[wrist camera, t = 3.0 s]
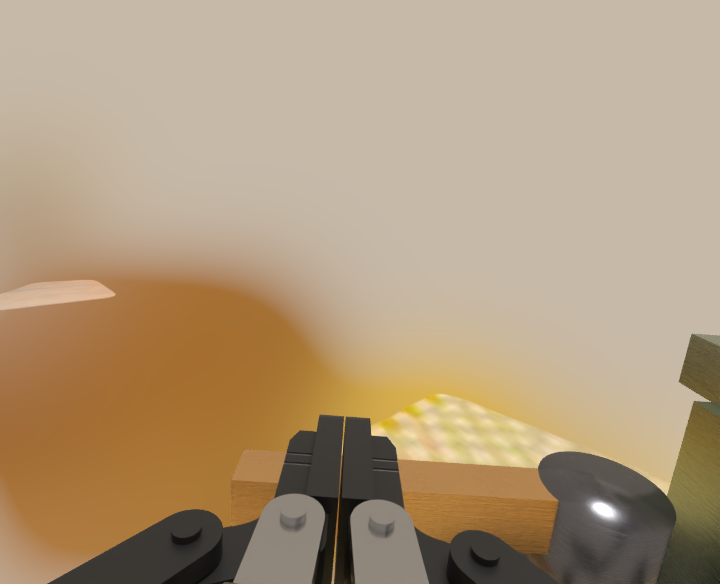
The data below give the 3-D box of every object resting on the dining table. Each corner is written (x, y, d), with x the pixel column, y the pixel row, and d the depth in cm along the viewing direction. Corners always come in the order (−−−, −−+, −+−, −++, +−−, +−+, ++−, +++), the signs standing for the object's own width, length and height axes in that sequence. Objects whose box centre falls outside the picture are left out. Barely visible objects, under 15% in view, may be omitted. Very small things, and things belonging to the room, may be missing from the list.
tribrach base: (631, 534, 35) (693, 299, 31) (1052, 1072, 14) (1472, 561, 9) (361, 517, 35) (383, 276, 30) (364, 1045, 13) (441, 494, 9)
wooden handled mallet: (590, 597, 27) (626, 455, 24) (655, 712, 21) (710, 539, 19) (249, 577, 26) (252, 430, 24) (218, 688, 21) (218, 508, 18)
